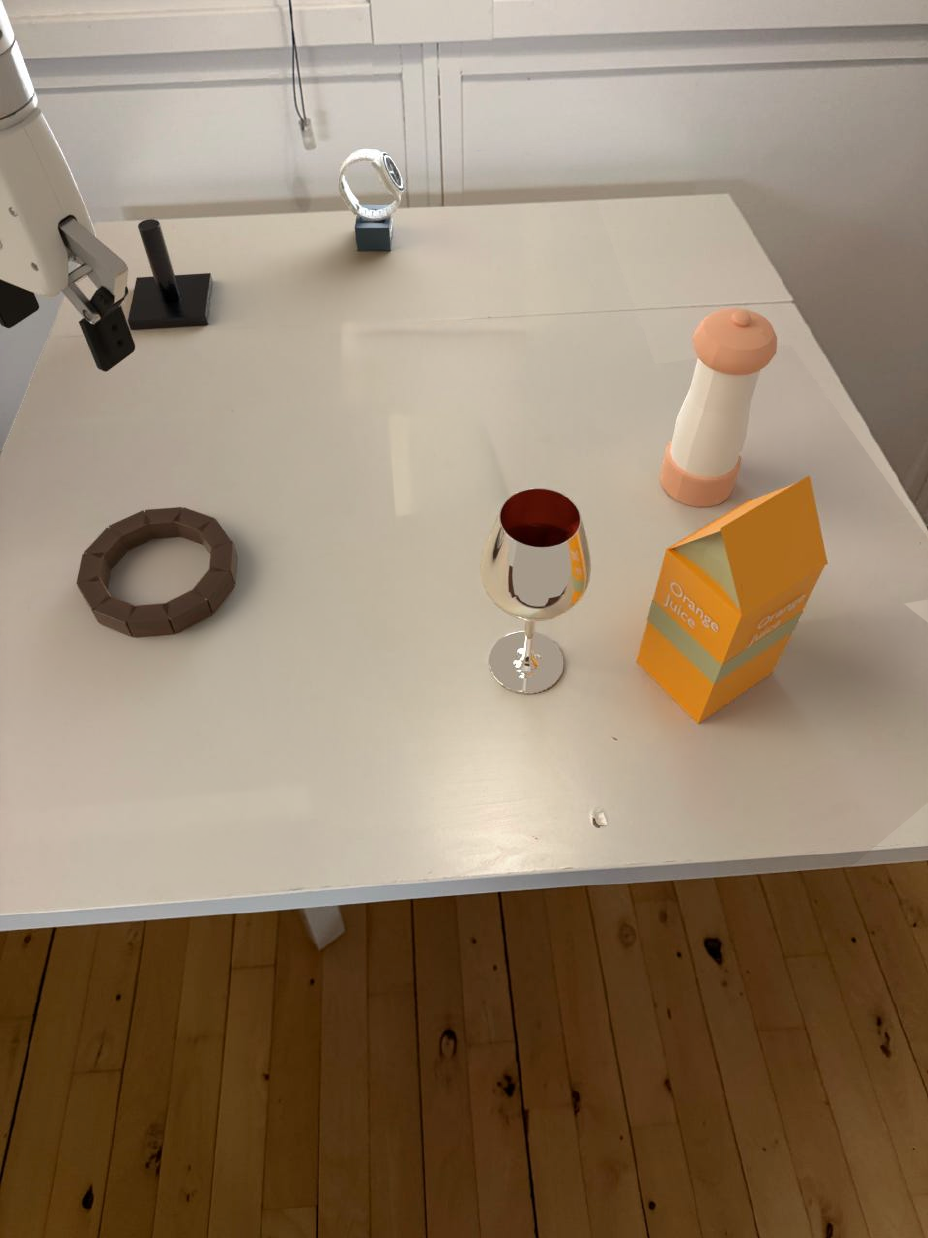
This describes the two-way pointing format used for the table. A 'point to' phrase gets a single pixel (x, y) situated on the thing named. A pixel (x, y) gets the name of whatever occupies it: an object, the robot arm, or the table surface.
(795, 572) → the orange juice
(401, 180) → the watch
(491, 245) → the table surface
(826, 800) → the table surface
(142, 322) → the post
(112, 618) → the ring
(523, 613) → the wineglass
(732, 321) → the pepper shaker
